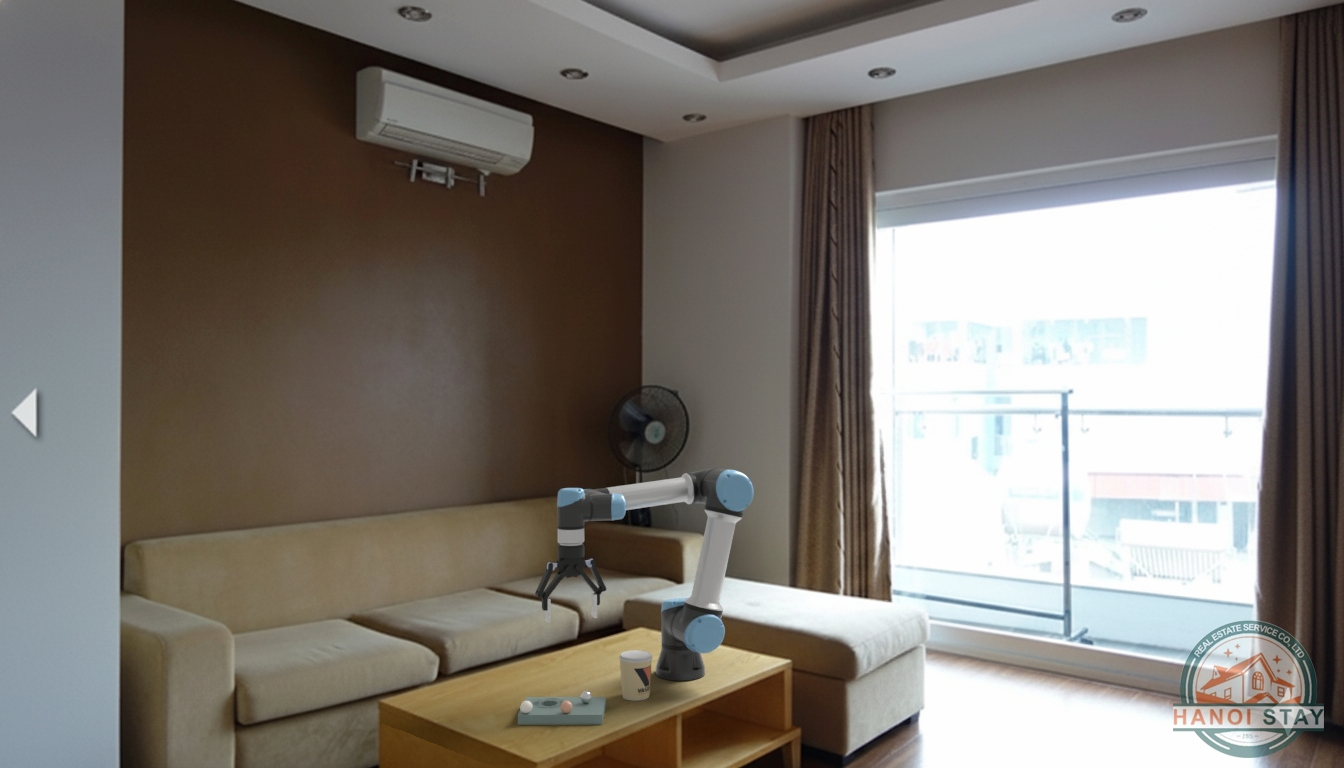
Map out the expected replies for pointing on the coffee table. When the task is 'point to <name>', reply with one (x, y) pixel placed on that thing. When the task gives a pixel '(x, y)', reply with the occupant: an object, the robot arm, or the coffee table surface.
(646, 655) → the coffee cup
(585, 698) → the steel ball
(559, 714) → the board
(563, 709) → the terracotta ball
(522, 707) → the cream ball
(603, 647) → the coffee table surface
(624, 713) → the coffee table surface
